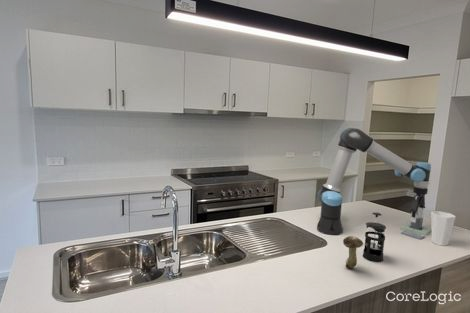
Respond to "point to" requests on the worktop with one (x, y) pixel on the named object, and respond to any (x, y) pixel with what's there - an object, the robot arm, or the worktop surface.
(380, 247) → the french press
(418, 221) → the block
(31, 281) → the worktop surface
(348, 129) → the robot arm
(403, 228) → the outlet plate
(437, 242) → the cup
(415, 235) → the phone
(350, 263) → the mushroom
